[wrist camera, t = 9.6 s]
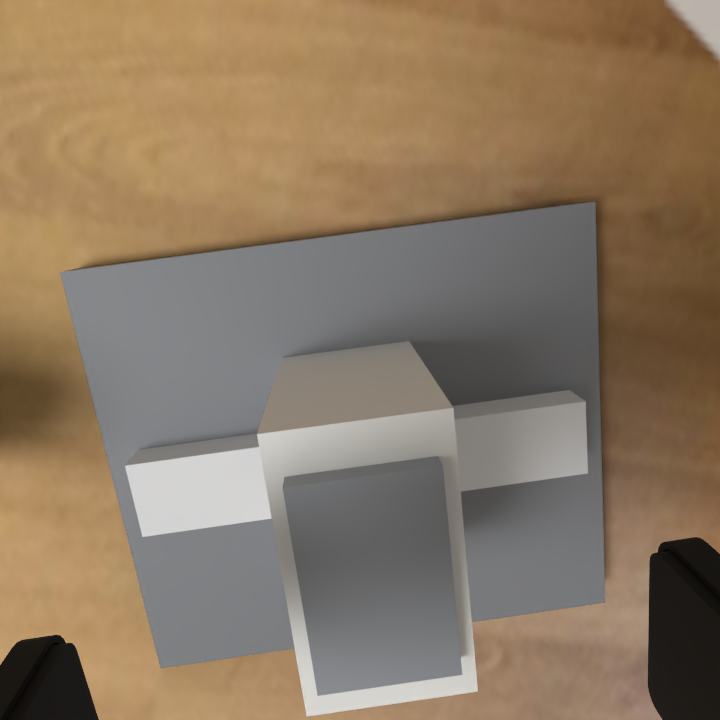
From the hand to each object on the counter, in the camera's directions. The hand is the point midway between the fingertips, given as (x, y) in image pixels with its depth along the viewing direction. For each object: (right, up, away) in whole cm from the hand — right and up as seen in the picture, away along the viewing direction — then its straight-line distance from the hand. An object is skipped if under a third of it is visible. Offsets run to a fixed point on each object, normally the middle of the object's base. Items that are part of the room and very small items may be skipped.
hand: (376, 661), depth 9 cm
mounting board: (0, +2, +11) cm, 11 cm away
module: (0, +2, +9) cm, 10 cm away
